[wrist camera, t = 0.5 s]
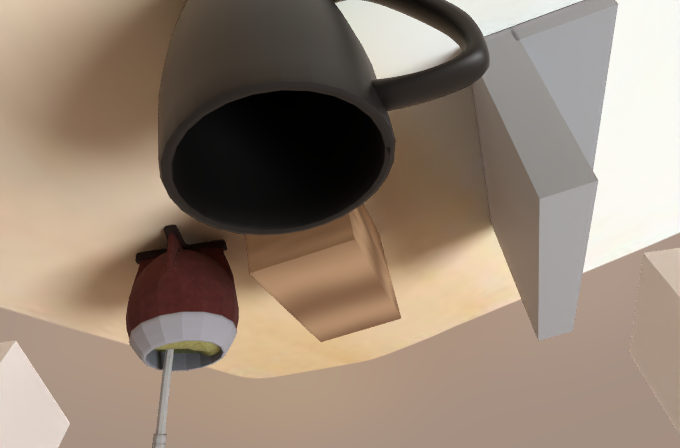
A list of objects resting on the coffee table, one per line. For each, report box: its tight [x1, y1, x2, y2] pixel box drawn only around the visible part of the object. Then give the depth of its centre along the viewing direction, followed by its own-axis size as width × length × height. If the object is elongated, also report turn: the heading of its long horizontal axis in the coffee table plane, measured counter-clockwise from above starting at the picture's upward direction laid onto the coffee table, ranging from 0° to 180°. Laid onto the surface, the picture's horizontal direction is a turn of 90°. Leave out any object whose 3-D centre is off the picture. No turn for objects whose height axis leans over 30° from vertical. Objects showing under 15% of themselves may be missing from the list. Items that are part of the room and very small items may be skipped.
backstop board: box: [472, 0, 618, 341], centre depth 33 cm, size 19×7×10 cm, turn 18°
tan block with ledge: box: [245, 203, 401, 342], centre depth 36 cm, size 12×6×7 cm, turn 18°
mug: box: [158, 0, 490, 235], centre depth 22 cm, size 8×12×10 cm
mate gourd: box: [126, 225, 239, 448], centre depth 36 cm, size 8×8×15 cm
